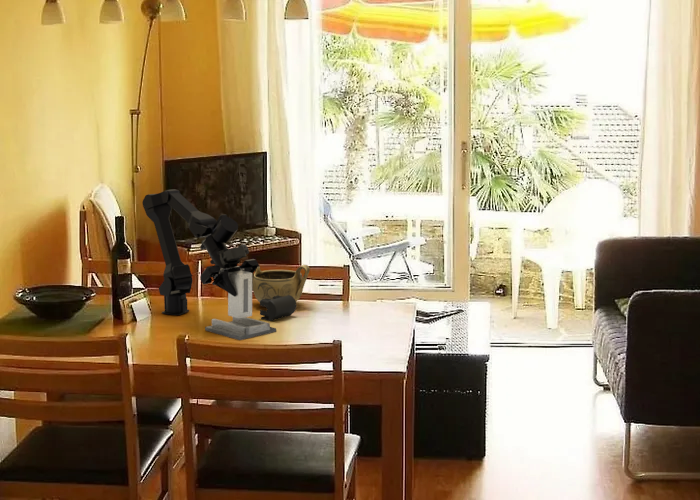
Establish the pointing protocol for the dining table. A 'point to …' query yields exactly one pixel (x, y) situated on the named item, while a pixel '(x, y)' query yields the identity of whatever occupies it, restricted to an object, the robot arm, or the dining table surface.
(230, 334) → the slotted cradle
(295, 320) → the dining table surface
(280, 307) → the end cap
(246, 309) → the aluminium block
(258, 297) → the ceramic bowl
